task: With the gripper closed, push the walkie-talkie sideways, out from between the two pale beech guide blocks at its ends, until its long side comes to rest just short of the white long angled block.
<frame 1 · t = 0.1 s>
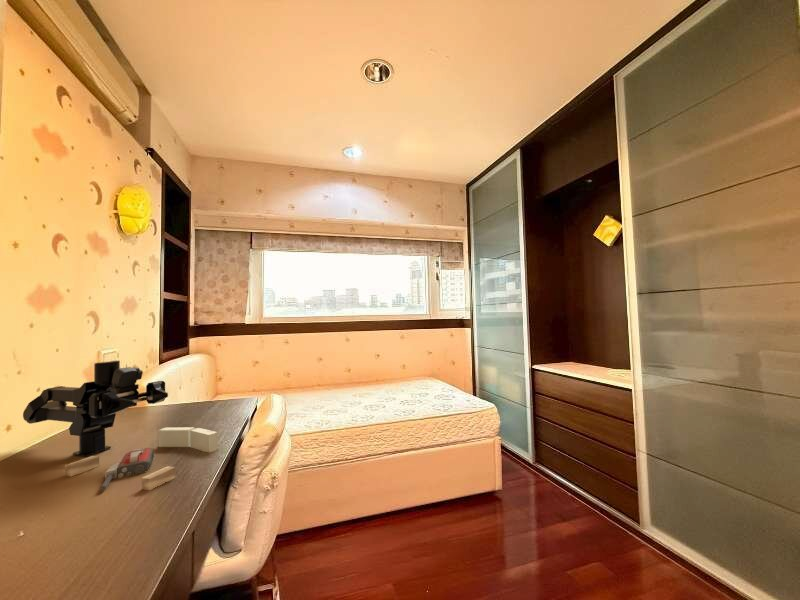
hand: (151, 398, 94), 17 cm above the table, tool horizontal, fingers open, 9 cm apart
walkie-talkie: (129, 474, 86), on the table
guide blocks: (118, 476, 83), on the table
white long angled block: (187, 447, 101), on the table
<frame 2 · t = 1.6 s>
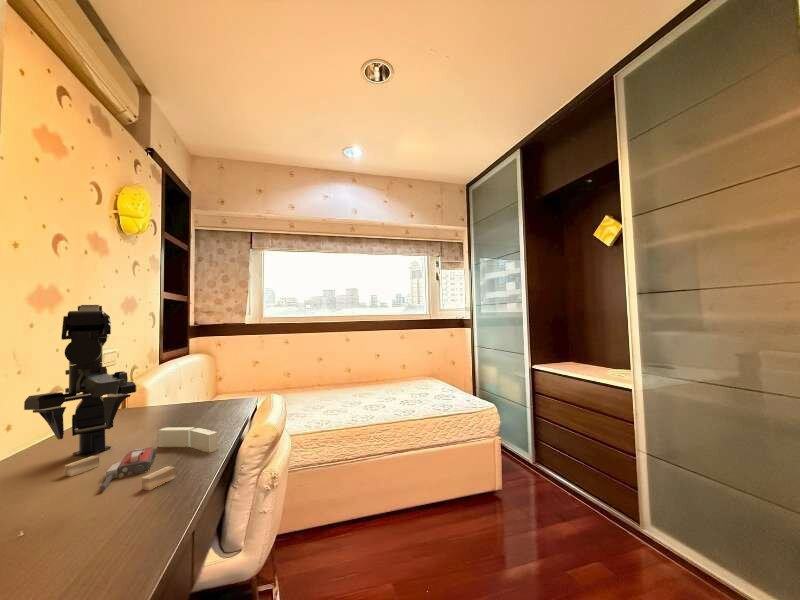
hand: (85, 432, 77), 13 cm above the table, tool pointing down, fingers open, 9 cm apart
nothing on the table moved.
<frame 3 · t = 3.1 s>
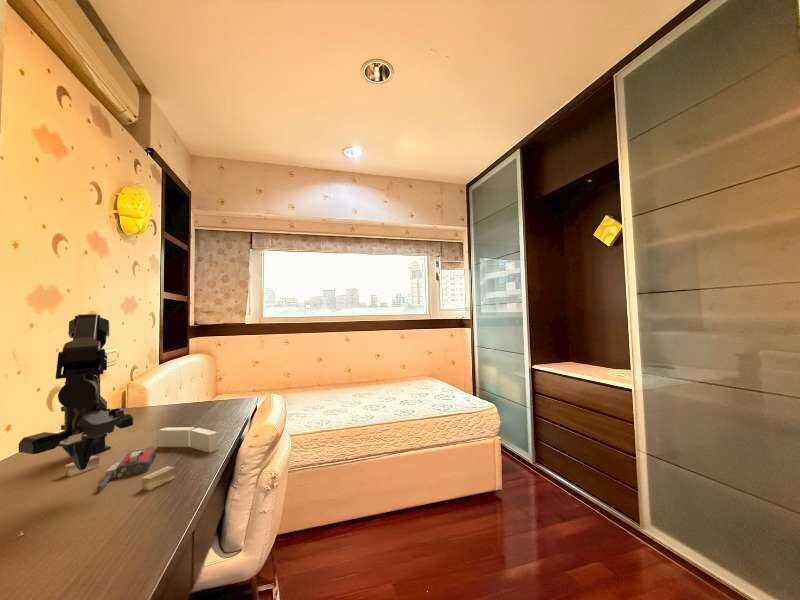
hand: (82, 469, 76), 5 cm above the table, tool pointing down, fingers closed
nothing on the table moved.
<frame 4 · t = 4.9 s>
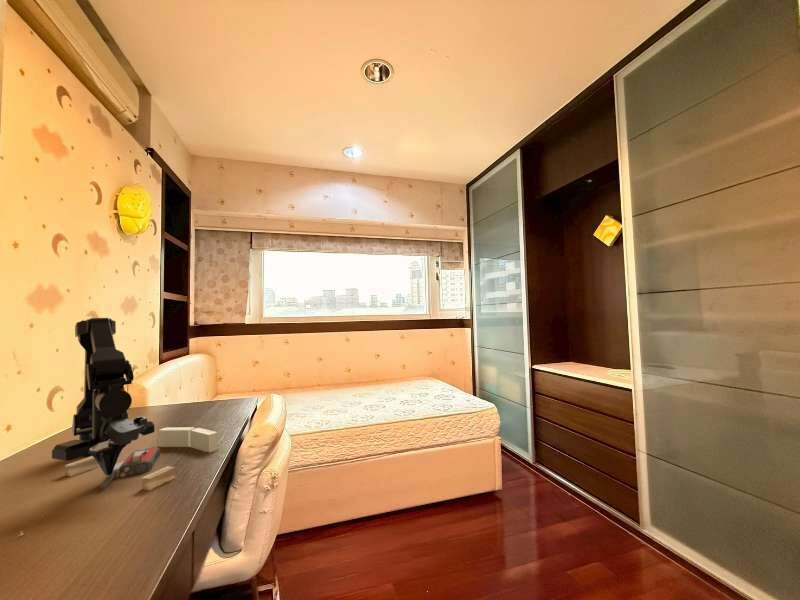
hand: (108, 474, 81), 1 cm above the table, tool pointing down, fingers closed
nothing on the table moved.
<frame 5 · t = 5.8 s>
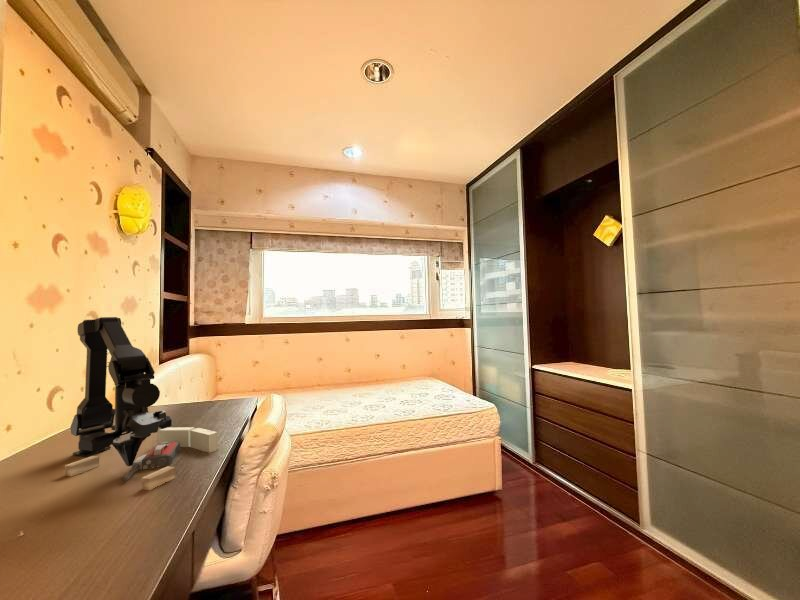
hand: (129, 465, 85), 2 cm above the table, tool pointing down, fingers closed
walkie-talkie: (154, 466, 90), on the table, touching gripper
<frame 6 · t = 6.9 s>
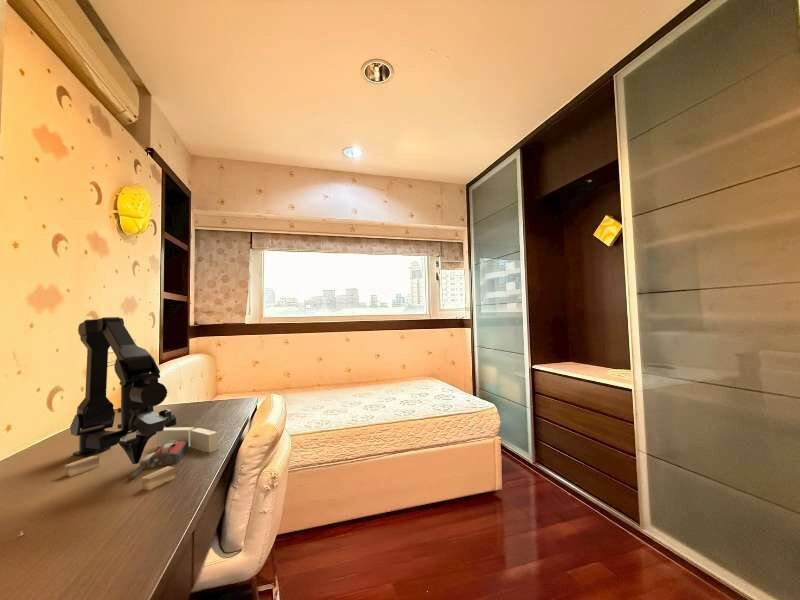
hand: (135, 463, 87), 2 cm above the table, tool pointing down, fingers closed
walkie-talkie: (162, 464, 91), on the table
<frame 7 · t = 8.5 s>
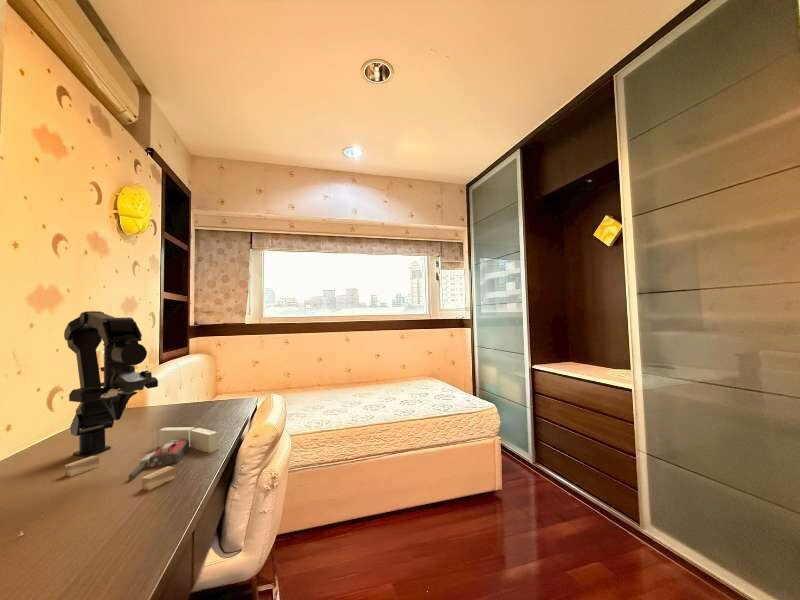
hand: (117, 419, 92), 12 cm above the table, tool pointing down, fingers closed
nothing on the table moved.
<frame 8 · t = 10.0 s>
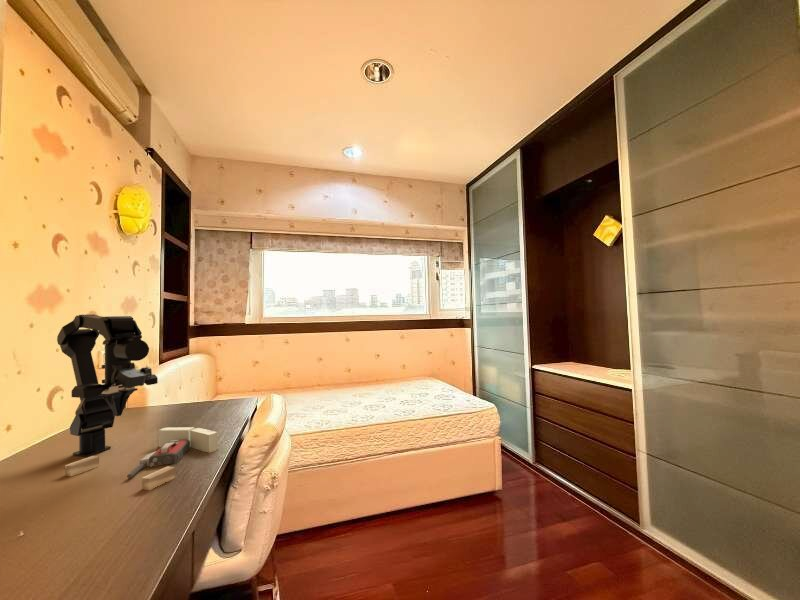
hand: (118, 415, 95), 12 cm above the table, tool pointing down, fingers closed
nothing on the table moved.
at the end: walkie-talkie inside the target area (2.8 cm from its centre), on the table; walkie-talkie moved 7.1 cm from its start; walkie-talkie tilted 0° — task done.
